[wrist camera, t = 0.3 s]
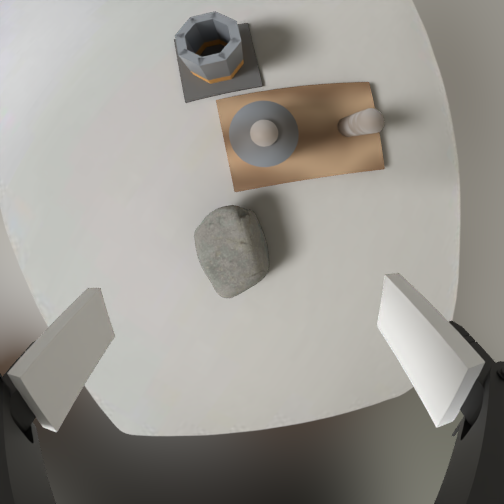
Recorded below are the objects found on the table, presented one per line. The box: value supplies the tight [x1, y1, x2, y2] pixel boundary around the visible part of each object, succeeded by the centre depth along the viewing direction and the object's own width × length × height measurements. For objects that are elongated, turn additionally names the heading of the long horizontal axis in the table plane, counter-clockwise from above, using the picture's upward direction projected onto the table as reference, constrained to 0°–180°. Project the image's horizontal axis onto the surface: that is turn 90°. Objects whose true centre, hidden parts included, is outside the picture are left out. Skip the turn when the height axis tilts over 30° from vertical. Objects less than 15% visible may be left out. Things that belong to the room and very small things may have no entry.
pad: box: [174, 23, 262, 103], centre depth 31 cm, size 10×10×1 cm
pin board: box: [216, 82, 385, 192], centre depth 29 cm, size 12×20×10 cm, turn 101°
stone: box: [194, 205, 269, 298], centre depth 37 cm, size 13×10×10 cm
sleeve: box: [175, 11, 244, 84], centre depth 27 cm, size 7×7×8 cm
